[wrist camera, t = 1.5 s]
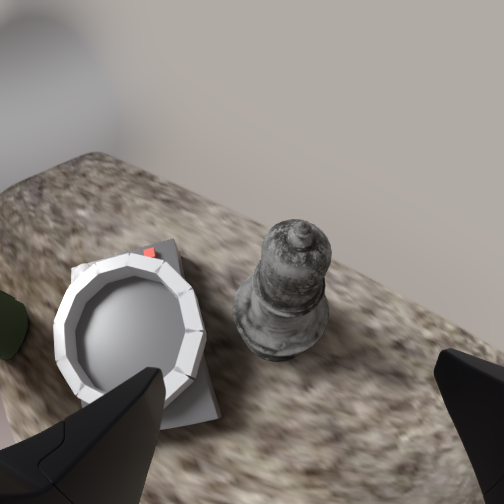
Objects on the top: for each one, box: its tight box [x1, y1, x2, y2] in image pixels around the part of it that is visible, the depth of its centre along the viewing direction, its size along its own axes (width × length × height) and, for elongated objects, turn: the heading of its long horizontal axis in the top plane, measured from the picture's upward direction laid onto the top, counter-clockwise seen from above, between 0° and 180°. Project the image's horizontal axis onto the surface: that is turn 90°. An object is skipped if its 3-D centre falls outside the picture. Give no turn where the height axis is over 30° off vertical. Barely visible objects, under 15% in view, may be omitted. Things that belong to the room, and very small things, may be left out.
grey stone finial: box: [233, 219, 332, 361], centre depth 15 cm, size 6×6×12 cm
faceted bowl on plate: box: [53, 239, 222, 430], centre depth 17 cm, size 13×10×4 cm
